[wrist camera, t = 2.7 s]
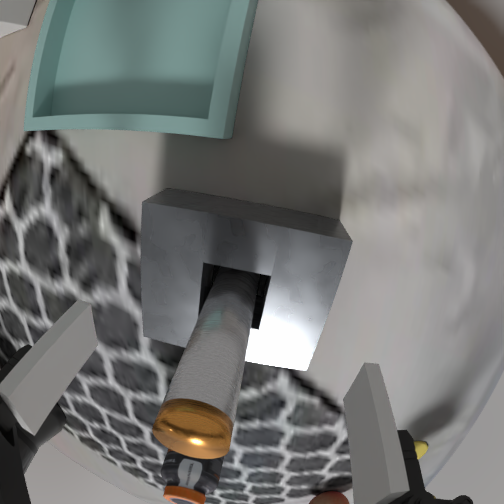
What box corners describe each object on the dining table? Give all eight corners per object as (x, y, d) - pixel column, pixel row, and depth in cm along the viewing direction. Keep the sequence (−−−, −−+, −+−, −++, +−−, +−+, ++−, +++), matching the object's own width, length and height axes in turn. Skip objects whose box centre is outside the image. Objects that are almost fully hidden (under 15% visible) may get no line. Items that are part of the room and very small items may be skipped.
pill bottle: (189, 399, 28) (161, 488, 18) (238, 419, 29) (223, 507, 18) (174, 420, 30) (148, 497, 20) (218, 438, 31) (201, 514, 21)
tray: (47, 128, 18) (23, 131, 15) (80, -17, 13) (60, -27, 10) (231, 138, 18) (222, 139, 15) (266, -37, 12) (264, -59, 9)
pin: (219, 281, 22) (155, 446, 9) (224, 247, 21) (149, 411, 8) (256, 289, 22) (225, 464, 9) (263, 255, 21) (233, 432, 8)
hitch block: (161, 307, 24) (143, 336, 20) (167, 188, 20) (142, 201, 16) (304, 336, 23) (306, 370, 20) (339, 220, 19) (352, 241, 16)
